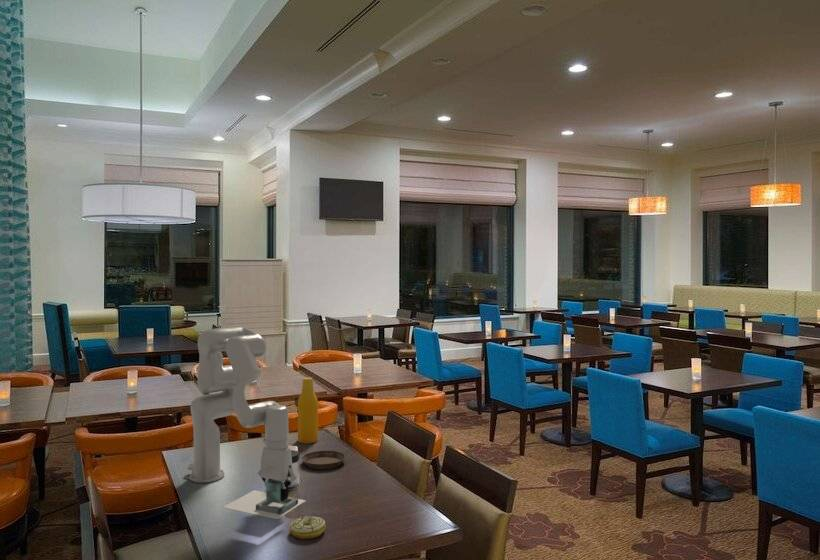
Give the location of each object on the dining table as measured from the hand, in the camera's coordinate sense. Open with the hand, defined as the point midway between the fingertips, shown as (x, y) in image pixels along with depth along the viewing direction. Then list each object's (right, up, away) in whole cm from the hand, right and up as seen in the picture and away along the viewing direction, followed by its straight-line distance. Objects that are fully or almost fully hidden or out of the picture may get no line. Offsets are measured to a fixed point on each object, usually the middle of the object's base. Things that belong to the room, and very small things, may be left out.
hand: (277, 497), depth 196 cm
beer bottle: (-3, -2, +77) cm, 77 cm away
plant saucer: (+9, -4, +47) cm, 48 cm away
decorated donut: (+13, -6, -15) cm, 21 cm away
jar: (-1, -4, +23) cm, 23 cm away
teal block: (0, -1, 0) cm, 1 cm away
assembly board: (-5, -4, +2) cm, 7 cm away
